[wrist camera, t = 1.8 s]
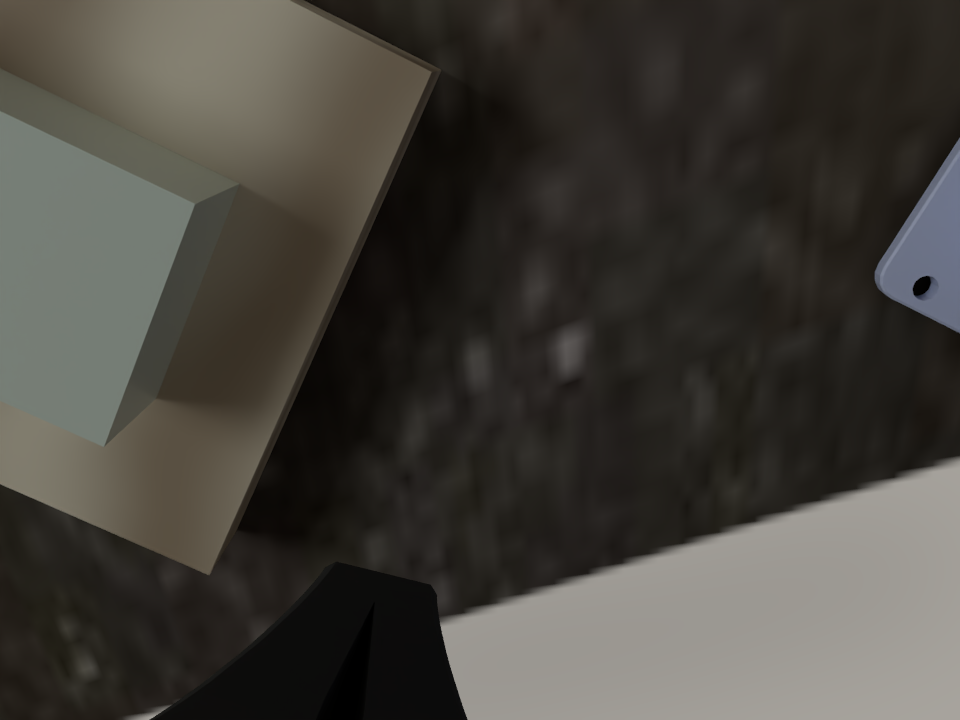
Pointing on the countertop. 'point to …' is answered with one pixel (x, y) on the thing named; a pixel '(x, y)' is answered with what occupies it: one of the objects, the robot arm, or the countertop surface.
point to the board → (242, 242)
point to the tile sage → (94, 260)
